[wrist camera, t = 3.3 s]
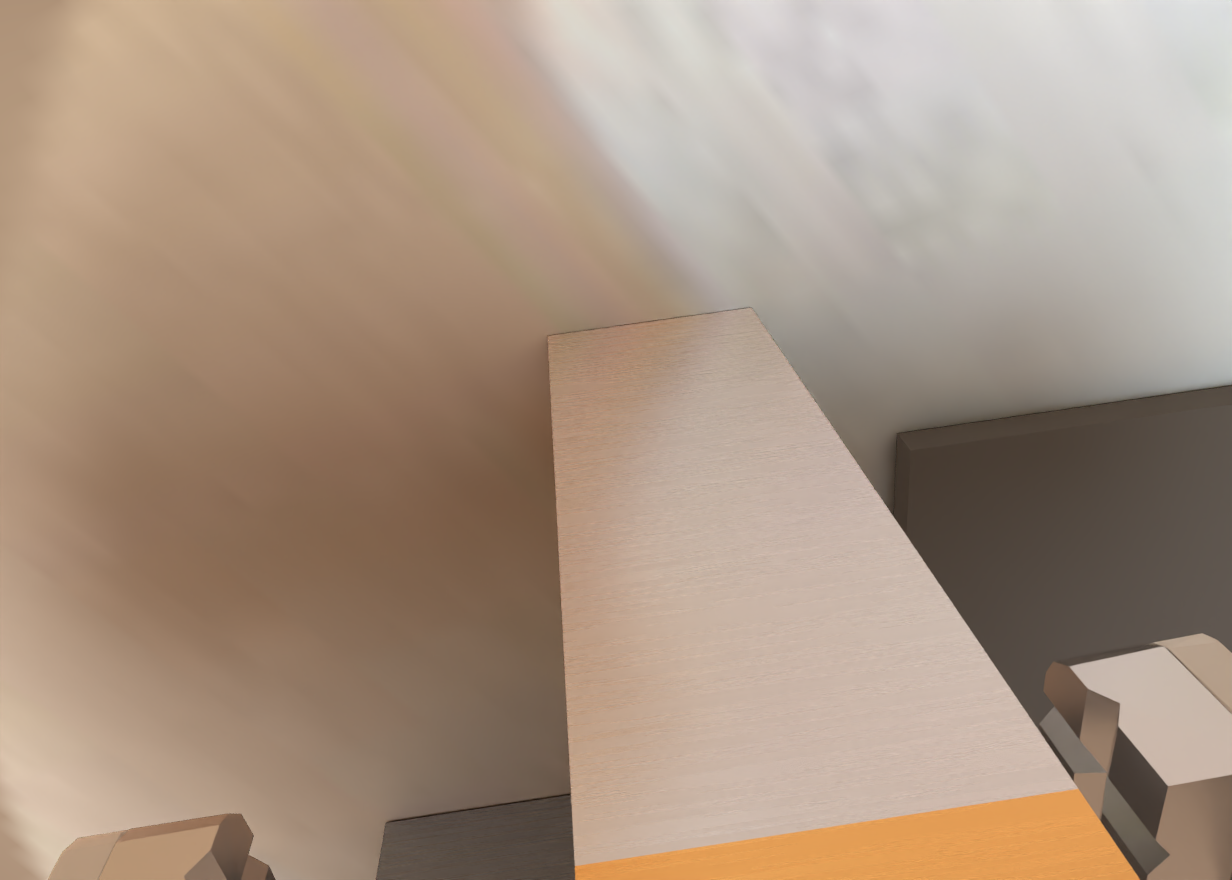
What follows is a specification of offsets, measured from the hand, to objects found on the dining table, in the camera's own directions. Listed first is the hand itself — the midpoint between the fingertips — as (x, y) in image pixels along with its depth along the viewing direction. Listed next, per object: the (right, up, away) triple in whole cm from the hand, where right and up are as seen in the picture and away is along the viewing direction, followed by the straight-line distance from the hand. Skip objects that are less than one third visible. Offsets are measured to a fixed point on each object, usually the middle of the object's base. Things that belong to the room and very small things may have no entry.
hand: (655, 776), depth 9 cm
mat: (+8, +1, +8) cm, 11 cm away
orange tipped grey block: (0, +4, +6) cm, 7 cm away
